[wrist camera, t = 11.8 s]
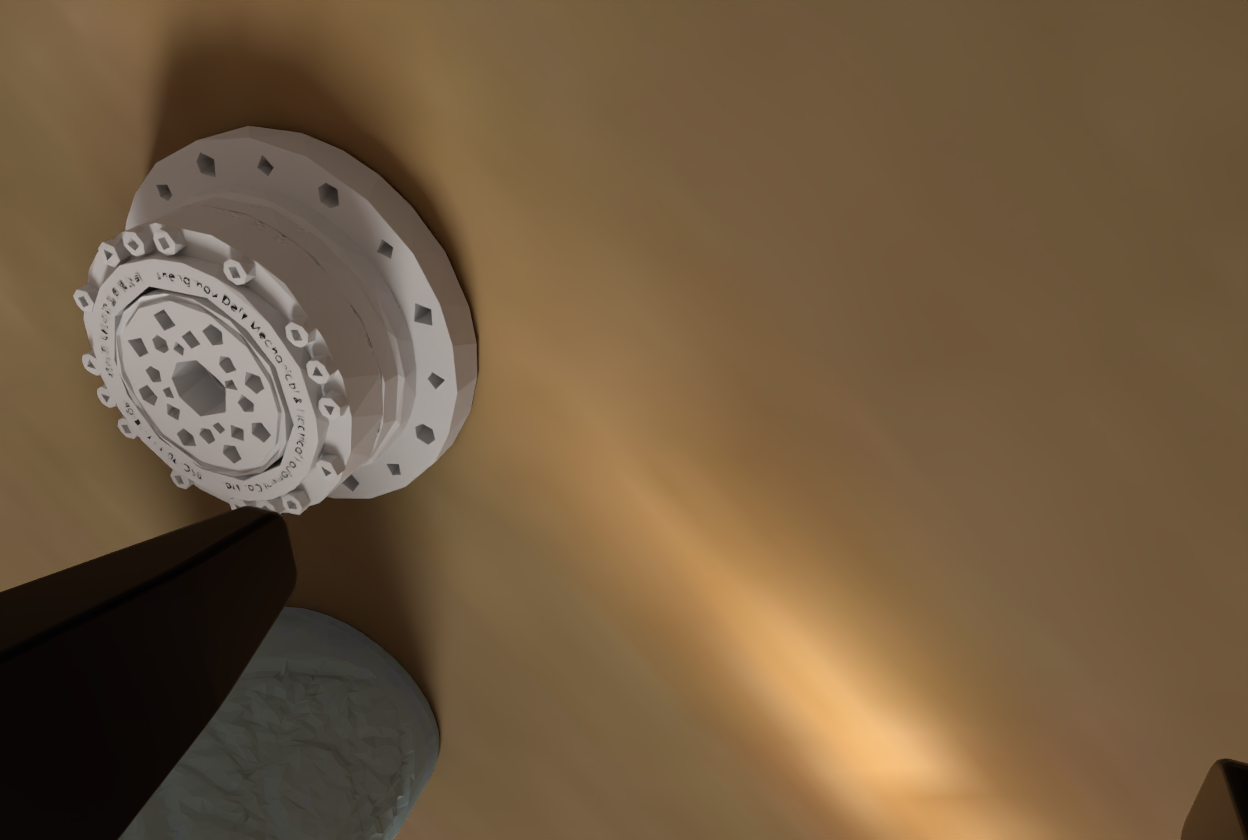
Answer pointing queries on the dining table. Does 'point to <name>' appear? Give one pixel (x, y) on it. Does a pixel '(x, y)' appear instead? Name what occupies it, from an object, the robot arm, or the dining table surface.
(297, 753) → the blue-grey cup
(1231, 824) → the robot arm
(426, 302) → the mechanical component
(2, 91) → the dining table surface
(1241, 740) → the dining table surface
